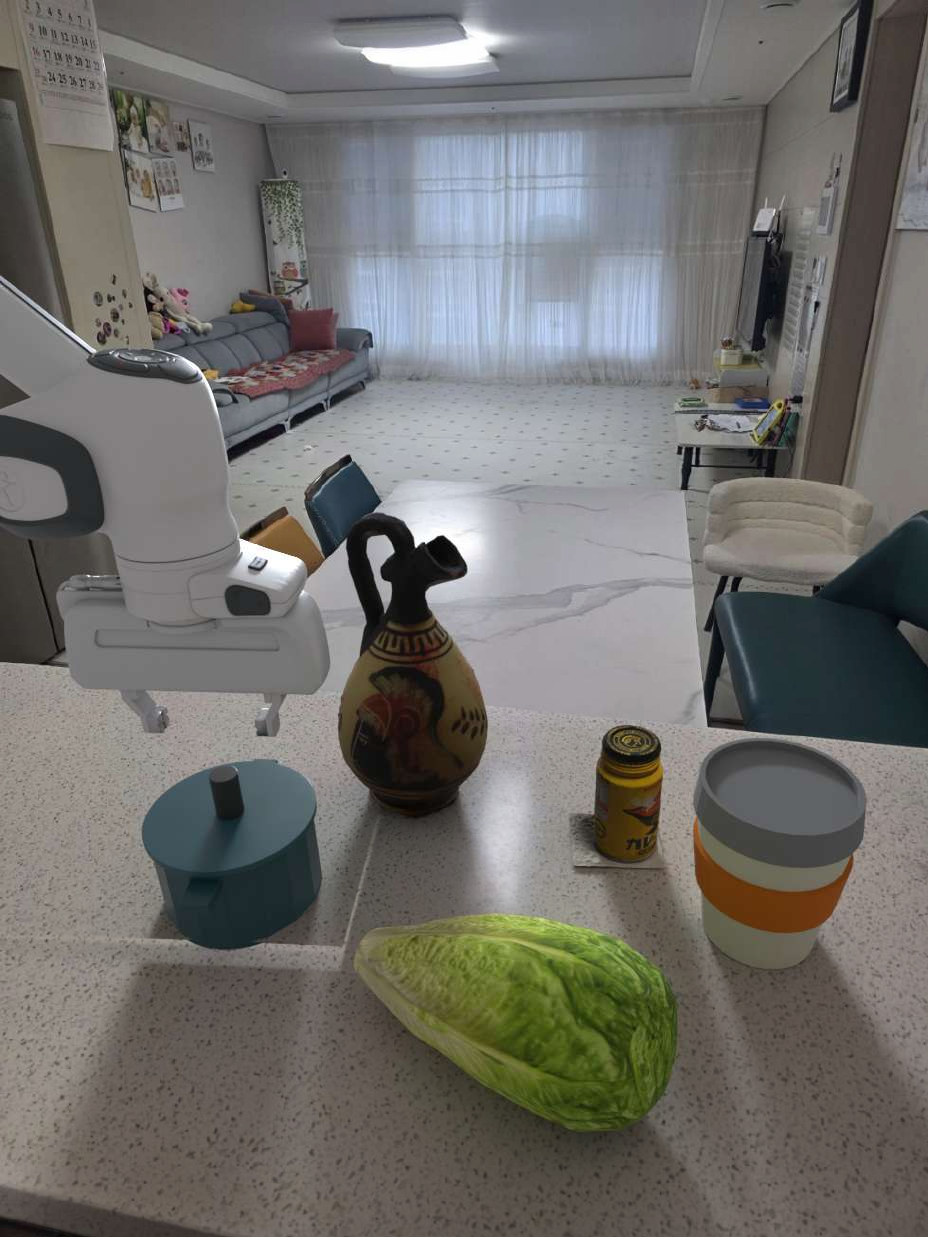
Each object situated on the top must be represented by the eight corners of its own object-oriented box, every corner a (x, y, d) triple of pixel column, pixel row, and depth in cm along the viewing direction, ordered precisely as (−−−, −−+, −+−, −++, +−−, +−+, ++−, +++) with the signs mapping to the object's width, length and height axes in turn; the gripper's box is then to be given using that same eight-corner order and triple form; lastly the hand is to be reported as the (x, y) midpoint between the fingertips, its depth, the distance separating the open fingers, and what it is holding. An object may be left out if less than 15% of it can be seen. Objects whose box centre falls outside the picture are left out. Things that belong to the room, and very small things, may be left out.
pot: (129, 972, 67) (105, 895, 64) (211, 819, 84) (196, 751, 81) (291, 980, 66) (277, 901, 62) (341, 823, 83) (333, 754, 79)
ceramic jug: (513, 765, 91) (511, 506, 78) (446, 853, 79) (430, 564, 66) (383, 729, 98) (361, 486, 85) (303, 805, 86) (263, 535, 73)
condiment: (665, 869, 76) (675, 762, 71) (573, 867, 77) (576, 761, 71) (654, 817, 82) (662, 716, 77) (569, 816, 83) (571, 715, 78)
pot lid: (113, 880, 66) (98, 829, 64) (184, 769, 79) (173, 723, 77) (292, 886, 65) (284, 835, 62) (334, 772, 78) (328, 726, 76)
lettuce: (414, 863, 70) (330, 873, 59) (703, 951, 59) (666, 984, 48) (384, 1008, 69) (292, 1046, 58) (675, 1126, 58) (630, 1202, 47)
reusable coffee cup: (853, 998, 63) (891, 846, 56) (684, 977, 65) (702, 829, 59) (820, 880, 74) (849, 742, 67) (676, 866, 76) (691, 730, 70)
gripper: (28, 592, 60) (72, 749, 66) (305, 596, 58) (324, 757, 64) (72, 559, 65) (109, 707, 71) (326, 562, 64) (341, 713, 70)
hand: (212, 731), depth 68 cm, fingers open, 8 cm apart
